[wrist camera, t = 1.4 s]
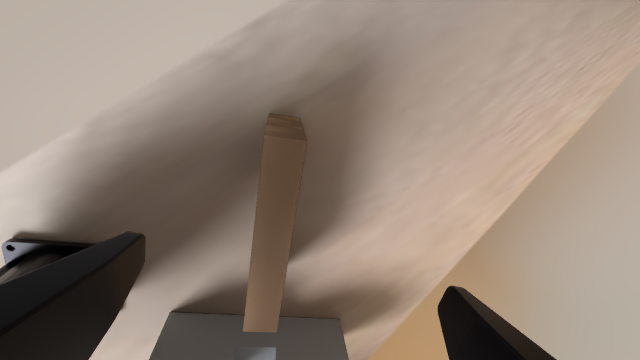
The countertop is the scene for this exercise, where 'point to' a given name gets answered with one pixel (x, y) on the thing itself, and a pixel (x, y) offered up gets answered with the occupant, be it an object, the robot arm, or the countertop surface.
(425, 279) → the countertop surface
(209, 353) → the base plate
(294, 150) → the cross plate
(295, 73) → the countertop surface
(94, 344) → the robot arm
